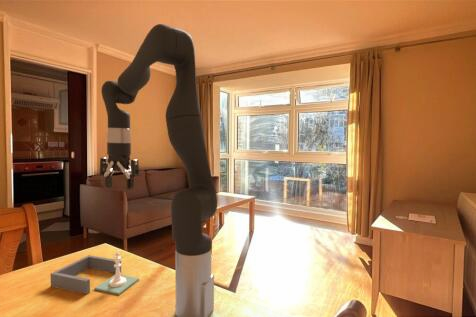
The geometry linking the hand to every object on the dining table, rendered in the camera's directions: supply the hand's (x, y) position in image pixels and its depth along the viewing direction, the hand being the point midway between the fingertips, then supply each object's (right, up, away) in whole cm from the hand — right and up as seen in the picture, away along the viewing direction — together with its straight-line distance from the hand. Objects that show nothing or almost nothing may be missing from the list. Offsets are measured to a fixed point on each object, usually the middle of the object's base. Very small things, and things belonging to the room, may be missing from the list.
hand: (119, 188), depth 95 cm
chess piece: (+4, -29, -10) cm, 30 cm away
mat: (+4, -29, -10) cm, 31 cm away
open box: (-7, -29, -7) cm, 30 cm away
